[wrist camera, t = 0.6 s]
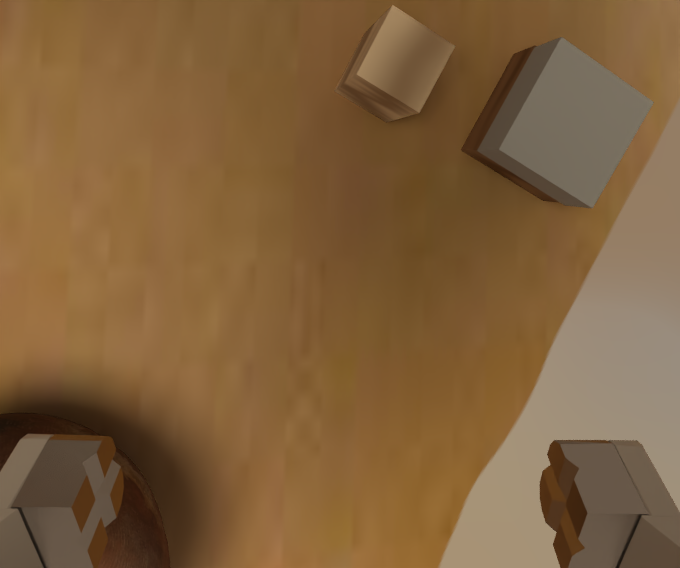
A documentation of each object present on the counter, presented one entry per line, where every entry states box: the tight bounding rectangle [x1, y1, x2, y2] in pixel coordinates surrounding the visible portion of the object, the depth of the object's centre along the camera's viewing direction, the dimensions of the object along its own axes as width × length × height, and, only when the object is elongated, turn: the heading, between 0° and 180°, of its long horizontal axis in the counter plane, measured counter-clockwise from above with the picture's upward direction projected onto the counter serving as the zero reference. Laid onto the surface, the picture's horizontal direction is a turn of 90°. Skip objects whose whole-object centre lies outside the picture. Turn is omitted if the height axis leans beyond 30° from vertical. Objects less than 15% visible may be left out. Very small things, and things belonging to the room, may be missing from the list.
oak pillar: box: [334, 5, 455, 122], centre depth 44 cm, size 5×5×9 cm
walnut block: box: [461, 46, 559, 202], centre depth 50 cm, size 9×9×4 cm
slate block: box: [477, 37, 654, 208], centre depth 46 cm, size 9×9×4 cm
